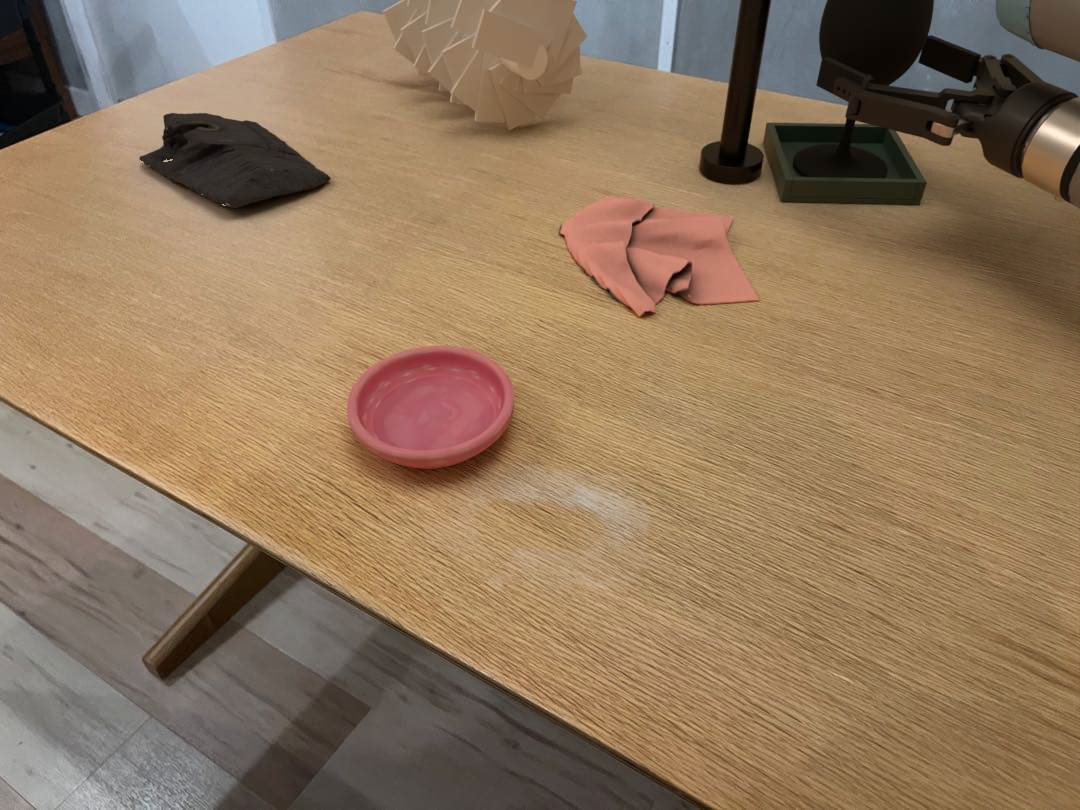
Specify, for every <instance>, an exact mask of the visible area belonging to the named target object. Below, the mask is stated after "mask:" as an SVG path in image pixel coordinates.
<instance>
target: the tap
mask: <svg viewBox="0 0 1080 810" xmlns="http://www.w3.org/2000/svg"><path fill="white" fill-rule="evenodd" d="M771 4H772V0H740V1H739V9H738V16H737V22H736V29H735V34H734V35H735V36H734V41H733V42H734V43H733V51H732V58H731V64H730V72H729V79H728V85H727V92H726V98H725V100H726V101H725V107H724V113H723V120H722V121H723V122H722V127H721V134H720V135H721V136H720V140H718V141H712V142H710V143H708V144H705V146H703V147H702V148H701V151H700V156H699V157H700V158H699V165H698V170H699V172H700V174H701V175H702V176H703V177H704V178H706V179H707V180H710V181H712V182H715V183H719V184H724V185H743V184H749V183H753V182H754V181H756V180H758V179H759V178H760V177H761V174H762V170H763V165H764V160H765V159H764V158H765V155H764V152H763V150H761V149H760V148H759V147H757V146H756V145H753V144H752V143H749V138H750V132H751V128H752V127H751V125H752V121H753V113H754V108H755V102H756V96H757V90H758V85H759V82H758V81H759V78H760V73H761V72H760V71H761V67H762V66H761V65H762V60H763V59H762V58H763V54H764V47H765V42H766V34H767V29H768V24H769V23H768V22H769V17H770V10H771V6H772V5H771Z"/></svg>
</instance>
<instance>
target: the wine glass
mask: <svg viewBox="0 0 1080 810" xmlns="http://www.w3.org/2000/svg"><path fill="white" fill-rule="evenodd" d="M934 5H935V0H826V3H825V5H824V8H823V11H822V15H821V20H820V25H819V31H818V32H819V34H818V43H819V53H820V57H821V59H822V58H825V57H829V58H832V59H834V60H836V61H838V62H840V63H842V64H844V65H846V66H849V67H851V68H853V69H855V70H857V71H859V72H861V73H863V74H866V75H871V77H872V78H874V83H873V84H880V85H887V86H891V85H892V84H893V83H895V82H896V81H897V80H900V78H901V77H902V76H904V74H906V73H907V72H908V71H909V69H910V68H912V66H913V65H914V63H916V60H917V59H919V57H920V55H921V51H922V49H923V47H924V45H925V42H926V39H927V37H928V36H929V33H930V29H931V25H932V21H933V14H934ZM845 118H846V117H845ZM844 124H845V128H844V131H843V135H842V138H841V141H840V144H839V145H838V144H821V145H814V146H810V147H807V148H804V149H802V150H800V151H799V152H798V153H797V154H796V155H795V156H794V159H793V166H794V168H795V169H796V171H797V172H798V173H799V174H800V175H802V176H803V177H832V178H885V177H886V175H887V171H888V169H887V165H886V164H885V162H884V161H883V160H882V159H881V158H880V157H878V156H876V155H875V154H873V153H871V152H869V151H866V150H863V149H860V148H857V147H852V146H850V143H851V137H852V133H853V129H854V125H855V124H856V121H855V120H851V119H847V118H846V119H845V123H844Z"/></svg>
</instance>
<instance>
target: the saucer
mask: <svg viewBox="0 0 1080 810" xmlns="http://www.w3.org/2000/svg"><path fill="white" fill-rule="evenodd" d="M515 397H516V396H515V388H514V386H513V382H512V380H511V378H510V376H509V375H508V373H507V372H506V371H505V370H504V368H503V367H502V366H501V365H500V364H498V362H496V361H495V360H493V359H492V358H490V357H488V356H487V355H485V354H483V353H480V352H478V351H476V350H473V349H468V348H465V347H459V346H453V345H426V346H419V347H414V348H409V349H405V350H401V351H399V352H396V353H393V354H391V355H389V356H386V357H384V358H382V359H381V360H379V361H377V362H375V363H374V364H373V365H371V366H370V367H369V368H367V369H366V370H365V371H364V372H363V373H362V374H361V375H360V377H358V378H357V379H356V382H354V384H353V386H352V388H351V389H350V392H349V394H348V397H347V400H346V401H347V403H346V415H347V420H348V423H349V427H350V429H351V432H352V434H353V435H354V437H355V438H356V439H357V441H358V442H359V443H360V444H361V445H362V446H363V448H365V449H366V450H368V451H369V452H371V453H372V454H374V455H375V456H377V457H378V458H382V459H384V460H385V461H388V462H391V463H394V464H397V465H399V466H405V467H409V468H414V469H421V470H434V469H443V468H447V467H451V466H455V465H458V464H460V463H463V462H465V461H468V460H469V459H472V458H474V457H475V456H477V455H479V454H480V453H482V452H483V451H485V450H486V449H489V447H490V446H491V445H492V444H494V443H496V441H497V440H499V438H501V436H502V435H503V434H504V433H505V431H506V430H507V428H508V426H509V425H510V423H511V420H512V418H513V415H514V412H515V406H516V405H515V404H516V401H515V400H516V399H515Z"/></svg>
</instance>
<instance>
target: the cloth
mask: <svg viewBox="0 0 1080 810" xmlns="http://www.w3.org/2000/svg"><path fill="white" fill-rule="evenodd" d="M733 221H734V217H729V216H723V215H716V214H710V213H704V212H697V211H690V210H684V209H677V208H670V207H662V206H656V205H655V204H654V203H651V202H650V201H647V200H643V199H637V198H634V197H627V198H624V197H620V195H607V196H605V197H602V198H600V199H599V200H597V201H594V202H591V203H590V204H588V205H587V206H586V207H584V208H581V209H580V210H578V211H576V212H575V213H574V214H573V215H572V216H571V217H570V218H568V219H567V220H565V221H564V222H563V223H562V224H560V226H559V230H558V234H560V235H563V236H564V239H565V240H564V241H565V244H566V246H567V249H568V251H569V253H570V255H571V256H572V257H573V258H574V261H575V262H576V263H577V264H578V266H579V267H581V268H583V270H584V272H585V273H586V274H587V275H588V276H589V277H591V279H593V280H595V282H596V283H597V285H598V286H599V287H600V288H602V289H603V290H605V291H606V292H608V293H611V294H612V295H613V296H614V298H615V299H616V300H618V301H619V302H620V303H621V304H623V305H625V306H627V307H629V308H631V309H632V310H633V311H634V313H635V314H636V315H637V317H639V318H640V317H641V316H643V315H645V314H646V313H647V312H652V313H653V314H656V313H657V308H656V305H657V304H658V303H660V302H661V300H662V299H663V298H664V297H665V293H666V291H667V292H669V293H670V294H674V295H677V296H679V297H681V298H682V299H684V300H685V301H688V302H690V303H692V304H696V305H720V304H721V305H722V304H731V303H732V304H733V303H734V304H735V303H747V302H759V301H760V298H759V296H758V295H757V293H756V291H755V289H754V287H753V286H752V284H751V282H750V281H749V279H748V277H747V275H746V274H745V272H744V271H743V269H742V267H741V266H740V264H739V263H738V261H737V259H736V257H735V255H734V254H733V252H732V250H731V248H730V244H729V241H728V238H727V235H728V232H729V230H730V228H731V226H732V223H733Z"/></svg>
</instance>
